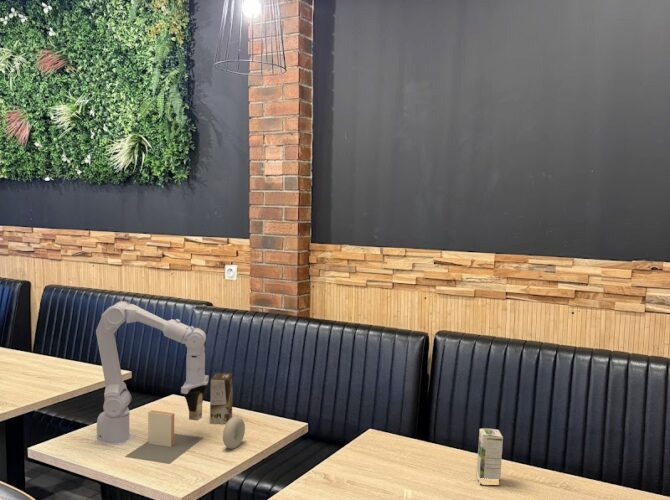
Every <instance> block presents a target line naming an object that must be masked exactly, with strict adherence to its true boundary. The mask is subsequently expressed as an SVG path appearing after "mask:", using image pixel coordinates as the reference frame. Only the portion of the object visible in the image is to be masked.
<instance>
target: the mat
mask: <svg viewBox="0 0 670 500" xmlns="http://www.w3.org/2000/svg"><path fill="white" fill-rule="evenodd" d="M203 438H204V437H203V436H202V437H201V436H194V435H187V434H181V433H174V445H173V446H171V447H168V446H162V445H155V444H148V441H146V442H144V443H143V444H142V445H139V446H138V447H137V448H136V449H133V450H132V451H131V452H129V453H128V454H126V455H125V456H124V457H125V458H129V459H130V458H131V459H134V460H135V459H137V460H142V461H149V462H153V463H161V464H166V465H167V464H168V465H170V464H171V463H173V462H175V461H176V460H177V459H178V458H180V457H181V456H182V455H183V454H184V453H186V452H188V451H189V450H190V449H191V448H192V447H194V446H195V445H197V444H198V443H199V442H201V440H202V439H203Z"/></svg>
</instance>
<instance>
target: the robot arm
mask: <svg viewBox="0 0 670 500" xmlns="http://www.w3.org/2000/svg"><path fill="white" fill-rule="evenodd" d="M125 322H126V324H131V323H135V322H139V323H141V324H144V325H147V326H149V327H152V328H155V329H158V330H160V331H162V333H163V336H164V337H167V338H169V339H170V340H174V341H175V342H178V343H179V344H182V345H184V344H185V347H186V352H187V353H186V359H185V360H186V363H185V364H186V367H185V368H186V369H185V371H186V372H185V375H186V376H185V379H186V380H185V381H184V383H183V385H182V386H181V387H180V388H181V389H180V394H182V395H183V397H184V399H185V401H186V405H187V408H188V412H189V411H192V412H195V411H196V408H197V400H198V396H199V394H200V393H202V403H203V402H204V399H205V395H206V392H207V390H208V389H209V385H208V384H209V380H210V379H209V378H210V377H209V374H208V375H207V374H205V371H206V370H205V368H206V367H205V366H206V365H205V364H206V352H205V351H206V348H205V343H206V341H207V334H206V332H205V331H204V330H203V329H201V328H200V327H194V326H193V325H191V326H190V325H187V324H185V323H182V322H181V319H178V318H176V319H172V318H171V319H169V320H166V319H164V318H162V317H159V316H158V315H155V314H154V313H151V312H150V311H147V310H146V309H143V308H142V307H140V306H138V305H135V304H133V303H129V302H127V301H123V300H121V301H118V302H116V303H114V304H112V305H111V306H109V307H107V309H105V311H104V312H103V313H101V318H100V320H99V323H98V325H97V326H96V329H95V335H96V339H97V345H98V351H99V356H100V361H101V367H102V372H103V377H104V383H105V389H104V395H103V396H104V401H103V402H104V403H103V411H102V412H100V413H99V415H98V417H97V419H96V420H97V421H96V440H94V442H95V443H96V442H97V443H103V444H109V445H116V446H122V445H124V444H125V443H127V442H129V441H130V440H132V439H134V438H136V435H130V409H129V407H128V406H129V405H130V404H131V401H132V395H131V393H130V391H129V390H128V388H127V384H126V382H124V380H123V375H122V369H121V365H120V359H119V354H118V349H117V342H116V341H117V340H116V337H115V332H116V331H117V330H118V329H119V328H120V326H121V325H122V324H124V323H125Z"/></svg>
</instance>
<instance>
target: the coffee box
mask: <svg viewBox="0 0 670 500" xmlns="http://www.w3.org/2000/svg"><path fill="white" fill-rule="evenodd" d="M233 380H234V379H233V373H231V372H215V373H214V374H213V376H212V377H211V379H210V398H209V399H210V403H209V425H226V423H227V422H228V420H229V419H231V418H232V417H233V385H234V384H233Z"/></svg>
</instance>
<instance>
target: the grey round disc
mask: <svg viewBox="0 0 670 500" xmlns="http://www.w3.org/2000/svg"><path fill="white" fill-rule="evenodd" d="M245 433H246V424H245V421H244V420H243V418H242V417H240V416H237V415H236V416H235V415H234V416H232V418H231V419H229V420H228V422H227V423H226V424H224V428H223V433H222V442H223V445H224V446H225V447H226V448H227V449H229V450H234V449H235V448H238V447H239V446H240V445H241V443H242V441H243V439H244V436H245Z"/></svg>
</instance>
